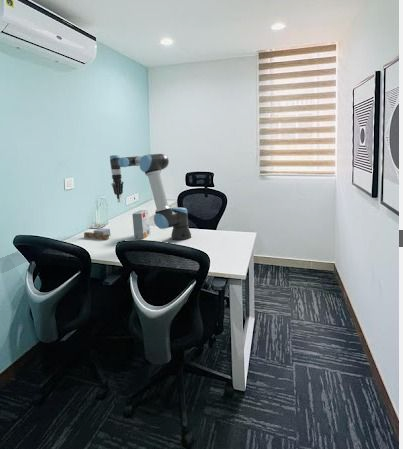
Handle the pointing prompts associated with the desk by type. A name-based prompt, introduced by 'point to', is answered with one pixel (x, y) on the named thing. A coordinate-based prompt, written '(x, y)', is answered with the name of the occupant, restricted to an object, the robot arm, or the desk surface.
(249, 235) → the desk surface
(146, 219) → the hard drive box
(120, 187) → the robot arm
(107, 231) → the slate block
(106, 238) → the walnut stop board
